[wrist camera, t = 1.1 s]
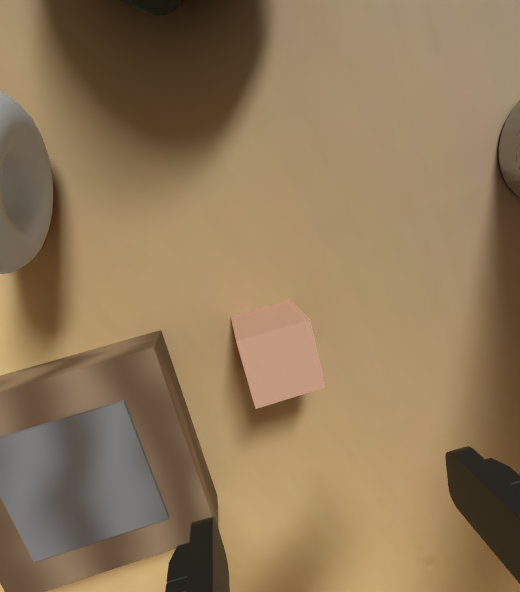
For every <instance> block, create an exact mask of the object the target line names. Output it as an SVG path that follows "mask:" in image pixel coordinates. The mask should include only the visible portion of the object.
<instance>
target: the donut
mask: <svg viewBox="0 0 520 592" xmlns="http://www.w3.org/2000/svg"><path fill="white" fill-rule="evenodd" d="M52 210H53V181H52V172H51V167H50V161H49V156H48V153H47V150H46V147H45V145H44V142H43V139H42V136H41V134H40V132H39V130H38V128H37V127H36V125H35V123H34V121H33V120H32V118H31V116H30V115H29V114H28V113H27V112H26V111H25V110H24V109H23V108H22V107H21V106H20V105H19V104H18V103H17V102H16V101H15V100H14V99H13V98H11V97H9V96H8V95H6V94H5V93H3V92H0V274H4V273H11V272H14V271H16V270H18V269H20V268H22V267H23V266H25V265H26V264H28V263H29V262H30V261H32V260H33V259H34V258H35V256H36V255H37V253H38V252H39V251H40V249H41V248H42V246H43V244H44V241H45V238H46V236H47V233H48V230H49V227H50V222H51V216H52Z"/></svg>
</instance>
